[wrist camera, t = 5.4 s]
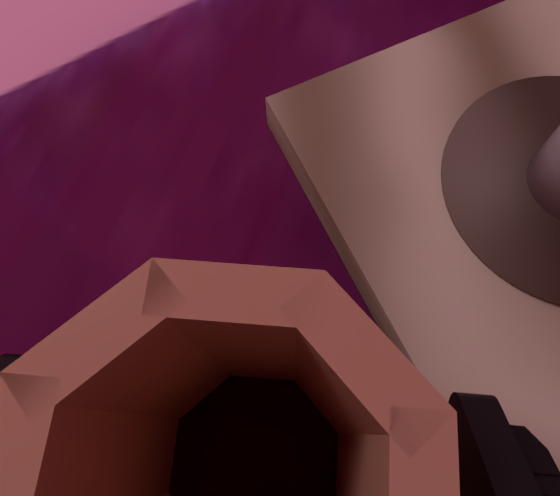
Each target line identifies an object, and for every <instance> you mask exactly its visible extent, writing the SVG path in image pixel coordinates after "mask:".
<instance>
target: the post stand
mask: <svg viewBox="0 0 560 496" xmlns="http://www.w3.org/2000/svg"><path fill="white" fill-rule="evenodd" d="M265 99H266V111H267V123H268V126H269V128H270V130H271V131H272V133H273V135H274V137H275V139H276V141H277V142H278V144H279V146H280V148H281V150H282V151H283V153H284V155H285V157H286V159H287V161H288V162H289V164H290V166H291V168H292V170H293V172H294V173H295V175H296V177H297V179H298V181H299V183H300V184H301V186H302V188H303V190H304V192H305V193H306V195H307V197H308V199H309V201H310V203H311V204H312V206H313V208H314V210H315V212H316V214H317V215H318V217H319V219H320V221H321V223H322V225H323V226H324V228H325V230H326V232H327V234H328V235H329V237H330V239H331V241H332V243H333V245H334V246H335V248H336V250H337V252H338V254H339V256H340V257H341V259H342V261H343V263H344V265H345V267H346V268H347V270H348V272H349V274H350V276H351V278H352V279H353V281H354V283H355V285H356V287H357V288H358V290H359V292H360V294H361V296H362V298H363V299H364V301H365V303H366V305H367V307H368V309H369V310H370V312H371V314H372V316H373V318H374V320H375V321H376V323H377V325H378V327H379V329H380V330H381V331H382V332H383V333H384V334H385V335H386V336H387V337H388V338H389V339H390V340H391V341H392V343H393V344H394V345H395V346H396V347H397V348H398V349H399V350H400V351H401V352H402V353H403V354H404V355H405V357H406V358H407V359H408V360H409V361H410V362H411V363H412V364H413V365H414V366H415V367H416V368H417V369H418V371H419V372H420V373H421V374H422V375H423V376H424V377H425V378H426V379H427V380H428V381H429V382H430V383H431V385H432V386H433V387H434V388H435V389H436V390H437V391H438V392H439V393H440V394H441V395H442V396H443V397H444V399H445V400H446V401H447V402H448V401H449V398H450V396H451V394H452V393H453V392H461V393H473V394H485V395H494V396H495V397H496V398H497V399H498V401H499V403H500V405H501V407H502V409H503V411H504V413H505V415H506V418H507V420H508V422H509V424H510V425H517V426H525V427H526V428H527V429H528V430H529V431H530V432H531V433H532V434H533V435H534V436H535V437H536V438H537V439H538V440H539V441H540V442H541V443H542V444H543V445H544V446H545V447H546V448H547V449H548V450H549V452H550V454H551V456H552V458H553V460H554V462H555V463H556V465H557V467H558V469H559V471H560V0H506V1H503V2H501V3H498V4H496V5H493V6H491V7H489V8H486V9H484V10H481V11H479V12H476V13H474V14H471V15H469V16H466V17H464V18H461V19H459V20H456V21H454V22H451V23H449V24H447V25H444V26H442V27H439V28H437V29H434V30H432V31H429V32H427V33H424V34H422V35H419V36H417V37H414V38H412V39H410V40H407V41H405V42H402V43H400V44H397V45H395V46H392V47H390V48H387V49H385V50H382V51H380V52H377V53H375V54H372V55H370V56H368V57H365V58H363V59H360V60H358V61H355V62H353V63H350V64H348V65H345V66H343V67H340V68H338V69H335V70H333V71H330V72H328V73H326V74H323V75H321V76H318V77H316V78H313V79H311V80H308V81H306V82H303V83H301V84H298V85H296V86H293V87H291V88H289V89H286V90H284V91H281V92H279V93H276V94H274V95H271V96H269V97H266V98H265Z"/></svg>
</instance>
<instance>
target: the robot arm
mask: <svg viewBox="0 0 560 496" xmlns="http://www.w3.org/2000/svg"><path fill="white" fill-rule="evenodd" d="M21 356H22V355H19V354H3V355H1V356H0V372H1V371H2V370H4V369H5V368H6V367H8V366H9V365H10V364H11V363H13V362H14V361H15V360H17V359H18V358H19V357H21ZM448 403H449V404H450V405H451V406H452V407H453V408H454V409H455V410H456V411H457V429H458V455H459V481H460V496H560V471H559V469H558V467H557V465H556V463H555V462H554V460H553V458H552V456H551V454H550V452H549V450H548V449H547V448H546V447H545V446H544V445H543V444H542V443H541V442H540V441H539V440H538V439H537V438H536V437H535V436H534V435H533V434H532V433H531V432H530V431H529V430H528V429H527V428H526V427H525V426H517V425H510V424H509V422H508V420H507V418H506V415H505V413H504V411H503V409H502V407H501V405H500V403H499V401H498V399H497V398H496V397H495V396H494V395H485V394H473V393H461V392H453V393H452V394H451V396H450V398H449V401H448Z"/></svg>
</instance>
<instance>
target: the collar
mask: <svg viewBox="0 0 560 496" xmlns="http://www.w3.org/2000/svg"><path fill="white" fill-rule="evenodd" d="M230 376H241V377H253V378H265V379H277V380H288V381H295V382H296V383H297V385H298V386H299V387H300V388H301V389H302V391H303V392H304V393H305V394H306V395H307V397H308V398H309V399H310V400H311V401H312V403H313V404H314V405H315V406H316V407H317V409H318V410H319V411H320V412H321V413H322V415H323V416H324V417H325V418H326V419H327V421H328V422H329V423H330V424H331V425H332V427H333V428H334V429H335V430H336V431H337V433H338V449H337V474H336V496H460V481H459V455H458V429H457V411H456V410H455V409H454V408H453V407H452V406H451V405H450V404H449V403H448V402H447V401H446V400H445V399H444V397H443V396H442V395H441V394H440V393H439V392H438V391H437V390H436V389H435V388H434V387H433V386H432V385H431V383H430V382H429V381H428V380H427V379H426V378H425V377H424V376H423V375H422V374H421V373H420V372H419V371H418V369H417V368H416V367H415V366H414V365H413V364H412V363H411V362H410V361H409V360H408V359H407V358H406V357H405V355H404V354H403V353H402V352H401V351H400V350H399V349H398V348H397V347H396V346H395V345H394V344H393V343H392V341H391V340H390V339H389V338H388V337H387V336H386V335H385V334H384V333H383V332H382V331H381V330H380V329H379V327H378V326H377V325H376V324H375V323H374V322H373V321H372V320H371V319H370V318H369V317H368V316H367V315H366V313H365V312H364V311H363V310H362V309H361V308H360V307H359V306H358V305H357V304H356V303H355V302H354V301H353V299H352V298H351V297H350V296H349V295H348V294H347V293H346V292H345V291H344V290H343V289H342V288H341V287H340V285H339V284H338V283H337V282H336V281H335V280H334V279H333V278H332V277H331V276H330V275H329V274H328V273H327V271H326V270H315V269H301V268H287V267H274V266H260V265H246V264H232V263H218V262H204V261H190V260H177V259H163V258H151V259H150V260H148V261H147V262H146V263H144V264H143V265H142V266H140V267H139V268H138V269H136V270H135V271H134V272H132V273H131V274H130V275H128V276H127V277H126V278H124V279H123V280H122V281H120V282H119V283H118V284H116V285H115V286H114V287H112V288H111V289H110V290H108V291H107V292H106V293H104V294H103V295H102V296H100V297H99V298H98V299H96V300H95V301H94V302H93V303H91V304H90V305H89V306H87V307H86V308H85V309H83V310H82V311H81V312H79V313H78V314H77V315H75V316H74V317H73V318H71V319H70V320H69V321H67V322H66V323H65V324H63V325H62V326H61V327H59V328H58V329H57V330H55V331H54V332H53V333H51V334H50V335H49V336H47V337H46V338H45V339H43V340H42V341H41V342H39V343H38V344H37V345H35V346H34V347H33V348H31V349H30V350H29V351H27V352H26V353H25V354H23V355H22V356H21V357H19V358H18V359H17V360H15V361H14V362H13V363H11V364H10V365H9V366H8V367H6V368H5V369H4V370H2V371H1V372H0V496H171V495H170V493H169V486H170V479H171V472H172V466H173V459H174V452H175V445H176V438H177V431H178V425H179V419H180V418H181V417H183V416H184V415H185V414H186V413H187V412H188V411H190V410H191V409H192V408H193V407H194V406H196V405H197V404H198V403H199V402H200V401H201V400H203V399H204V398H205V397H206V396H207V395H208V394H210V393H211V392H212V391H213V390H214V389H216V388H217V387H218V386H219V385H220V384H221V383H223V382H224V381H225V380H226V379H227V378H229V377H230Z"/></svg>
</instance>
